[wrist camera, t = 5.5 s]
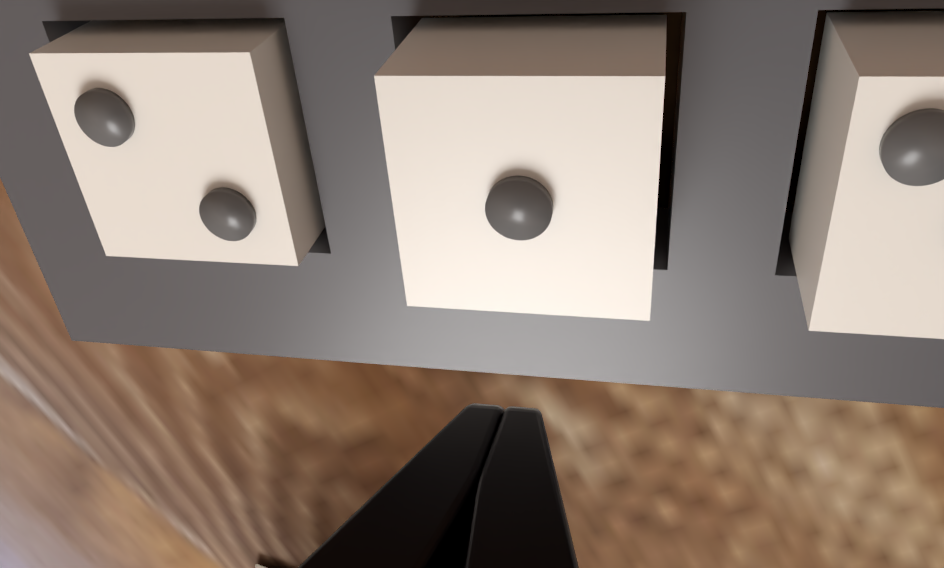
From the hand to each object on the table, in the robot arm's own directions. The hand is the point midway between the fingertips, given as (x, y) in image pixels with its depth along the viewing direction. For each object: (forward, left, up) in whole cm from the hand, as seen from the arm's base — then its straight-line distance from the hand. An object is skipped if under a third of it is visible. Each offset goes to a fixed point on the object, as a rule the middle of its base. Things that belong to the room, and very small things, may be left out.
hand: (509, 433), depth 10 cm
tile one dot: (+1, 0, -8) cm, 8 cm away
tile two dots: (+8, 0, -9) cm, 12 cm away
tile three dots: (-6, 0, -8) cm, 10 cm away
